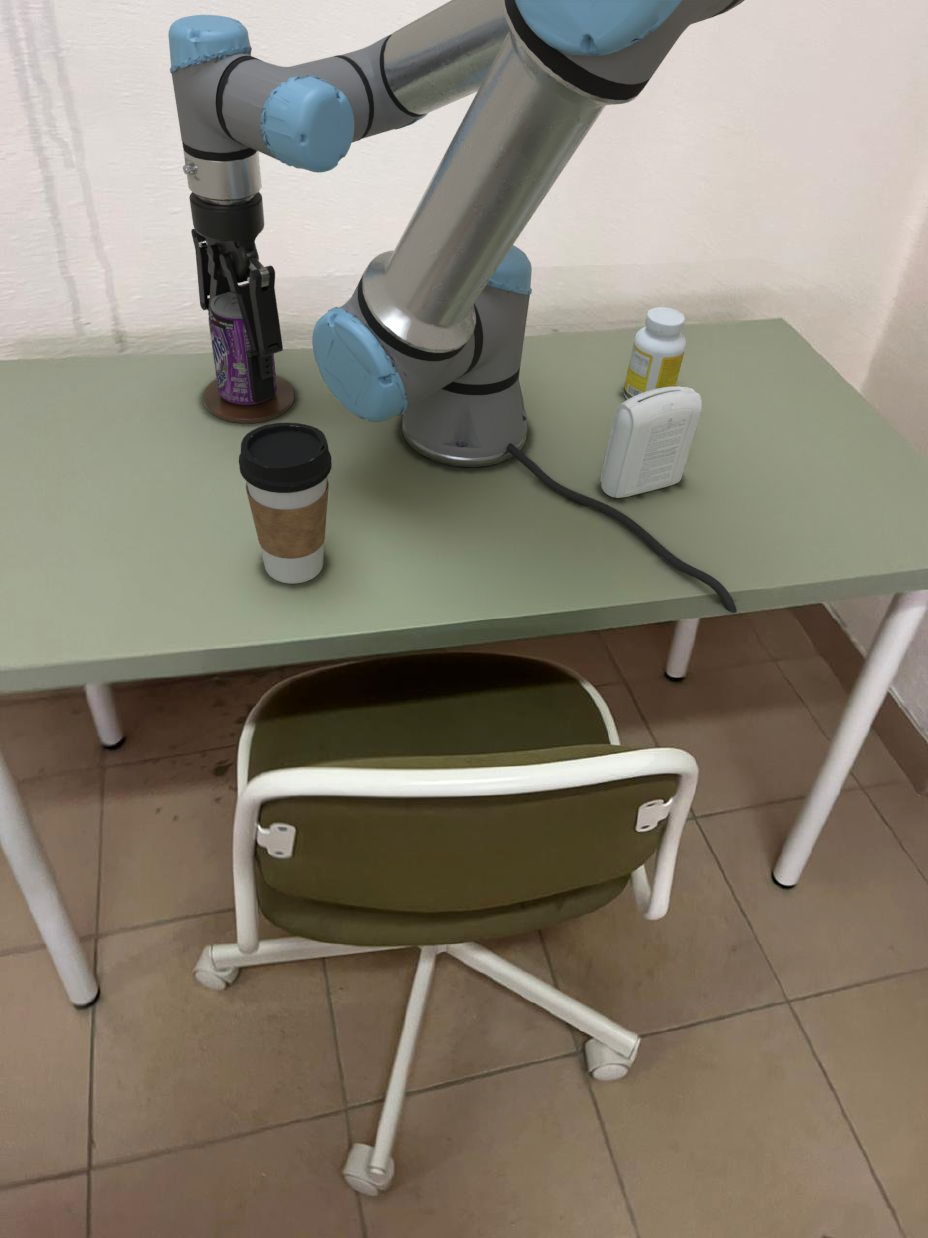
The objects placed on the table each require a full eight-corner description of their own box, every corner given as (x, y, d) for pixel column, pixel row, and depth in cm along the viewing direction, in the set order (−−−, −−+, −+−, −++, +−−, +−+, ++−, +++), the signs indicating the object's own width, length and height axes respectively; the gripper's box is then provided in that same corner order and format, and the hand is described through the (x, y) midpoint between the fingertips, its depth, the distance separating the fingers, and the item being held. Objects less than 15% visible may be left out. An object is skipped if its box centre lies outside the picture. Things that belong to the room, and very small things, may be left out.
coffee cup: (321, 599, 90) (314, 476, 79) (239, 583, 90) (221, 459, 80) (346, 545, 95) (342, 424, 85) (268, 531, 96) (256, 408, 86)
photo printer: (664, 463, 110) (690, 372, 101) (685, 484, 107) (713, 392, 99) (593, 482, 106) (613, 389, 97) (613, 504, 104) (635, 410, 95)
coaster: (310, 404, 114) (310, 400, 113) (233, 433, 108) (232, 429, 108) (263, 366, 119) (262, 362, 119) (187, 392, 114) (186, 387, 113)
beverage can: (222, 378, 115) (209, 287, 107) (278, 379, 116) (271, 289, 107) (216, 409, 110) (202, 316, 102) (275, 410, 111) (267, 318, 103)
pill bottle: (678, 396, 121) (701, 314, 113) (659, 417, 117) (680, 334, 109) (634, 379, 123) (653, 298, 115) (614, 399, 119) (631, 317, 111)
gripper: (147, 167, 99) (179, 357, 115) (244, 233, 89) (264, 431, 105) (208, 154, 103) (231, 341, 119) (308, 217, 93) (318, 411, 109)
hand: (246, 383), depth 112 cm, fingers closed on beverage can, 7 cm apart
